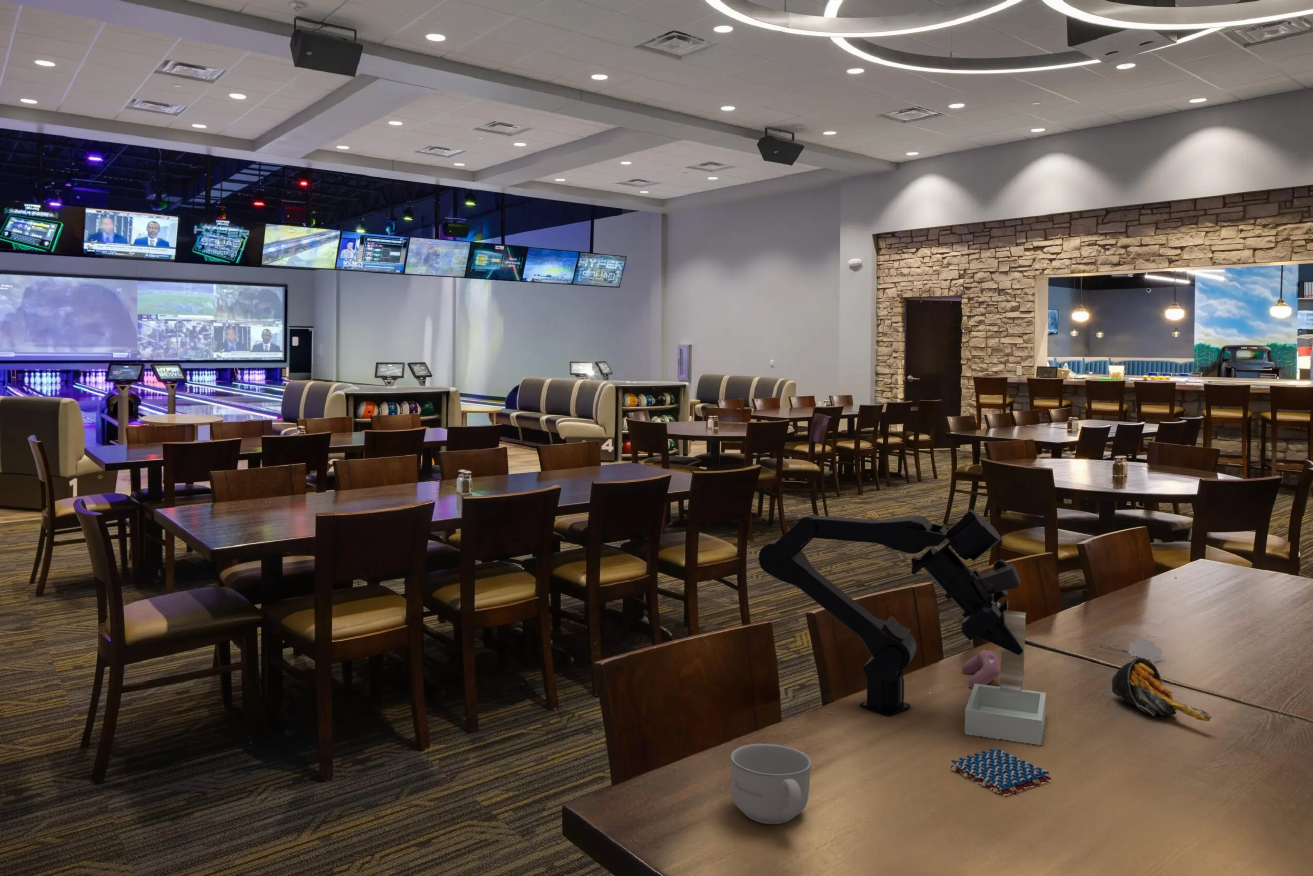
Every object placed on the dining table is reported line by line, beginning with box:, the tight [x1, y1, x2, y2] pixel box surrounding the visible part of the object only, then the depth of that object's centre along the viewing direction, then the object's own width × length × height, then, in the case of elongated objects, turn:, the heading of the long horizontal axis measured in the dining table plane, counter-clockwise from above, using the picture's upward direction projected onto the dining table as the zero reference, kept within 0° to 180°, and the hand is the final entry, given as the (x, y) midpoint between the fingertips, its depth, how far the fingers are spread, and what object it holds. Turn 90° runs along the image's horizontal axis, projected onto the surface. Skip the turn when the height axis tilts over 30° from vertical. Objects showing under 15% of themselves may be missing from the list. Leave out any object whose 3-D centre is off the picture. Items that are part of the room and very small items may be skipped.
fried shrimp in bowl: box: [1111, 657, 1212, 722], centre depth 157 cm, size 9×11×18 cm
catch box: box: [964, 684, 1047, 745], centre depth 153 cm, size 14×12×4 cm
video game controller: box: [961, 649, 1001, 689], centre depth 174 cm, size 10×5×7 cm, turn 169°
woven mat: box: [950, 748, 1052, 794], centre depth 134 cm, size 10×11×2 cm
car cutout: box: [1127, 638, 1163, 664], centre depth 190 cm, size 15×7×4 cm, turn 41°
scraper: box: [999, 610, 1027, 699], centre depth 152 cm, size 8×3×13 cm, turn 155°
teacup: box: [730, 743, 812, 825], centre depth 122 cm, size 14×11×8 cm
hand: (1021, 650), depth 151 cm, fingers closed on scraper, 3 cm apart
